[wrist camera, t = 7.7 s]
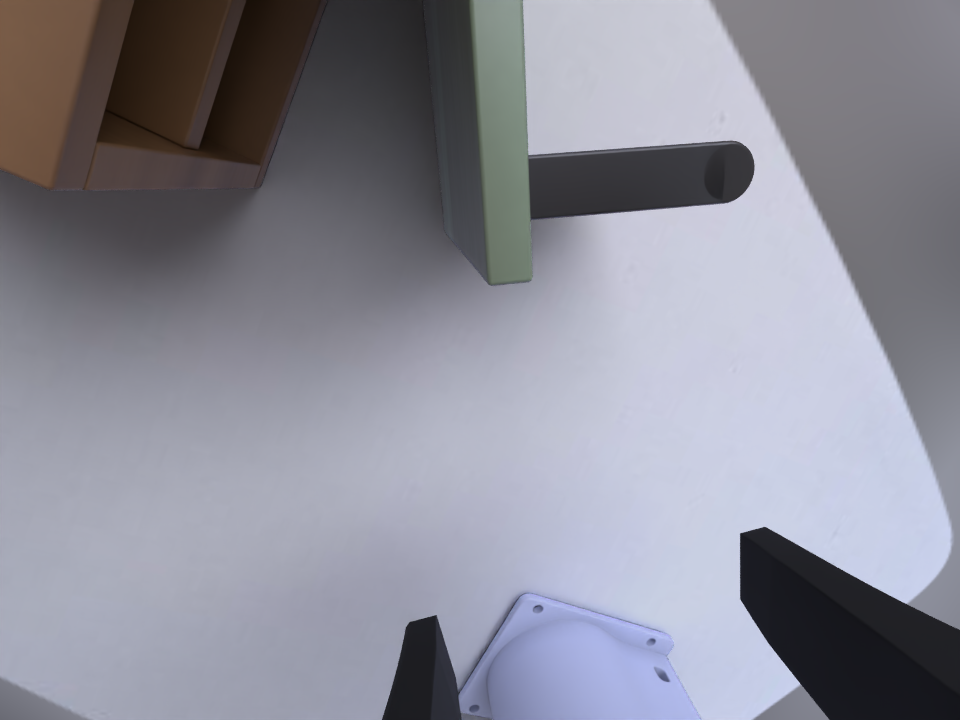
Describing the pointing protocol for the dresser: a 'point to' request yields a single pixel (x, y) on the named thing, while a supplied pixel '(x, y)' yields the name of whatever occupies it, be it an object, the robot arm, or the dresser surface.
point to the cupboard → (148, 90)
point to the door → (544, 177)
